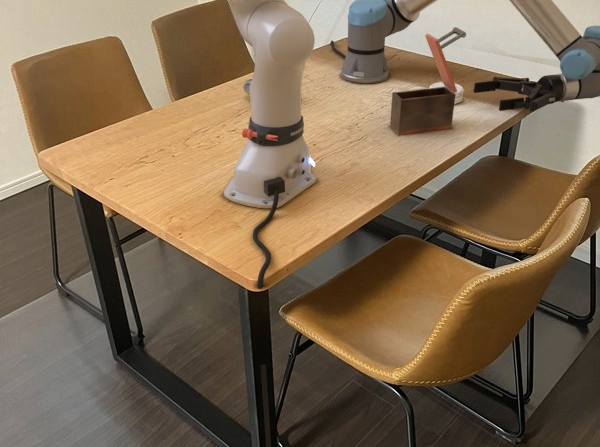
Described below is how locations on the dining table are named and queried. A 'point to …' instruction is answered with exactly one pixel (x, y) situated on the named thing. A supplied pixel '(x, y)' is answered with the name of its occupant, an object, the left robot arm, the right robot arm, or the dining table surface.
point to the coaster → (458, 94)
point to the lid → (439, 55)
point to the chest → (422, 110)
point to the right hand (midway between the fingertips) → (486, 96)
